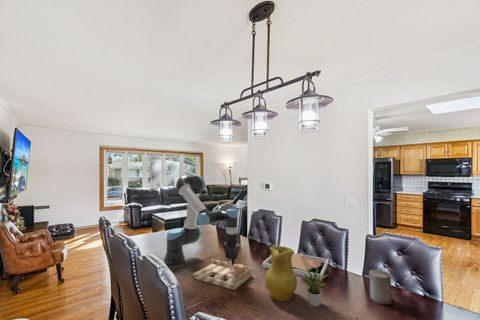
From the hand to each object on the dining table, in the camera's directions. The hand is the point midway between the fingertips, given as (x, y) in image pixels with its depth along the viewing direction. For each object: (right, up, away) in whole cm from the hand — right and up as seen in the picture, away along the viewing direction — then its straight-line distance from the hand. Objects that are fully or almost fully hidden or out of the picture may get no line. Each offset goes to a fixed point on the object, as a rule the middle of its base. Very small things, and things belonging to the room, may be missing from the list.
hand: (231, 269), depth 150 cm
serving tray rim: (+46, -5, +17) cm, 50 cm away
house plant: (+45, -3, -31) cm, 55 cm away
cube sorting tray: (-6, -4, -2) cm, 8 cm away
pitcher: (+29, -3, -23) cm, 37 cm away
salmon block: (+5, -1, -3) cm, 6 cm away
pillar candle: (+80, -3, -28) cm, 85 cm away
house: (+47, -5, +16) cm, 50 cm away
